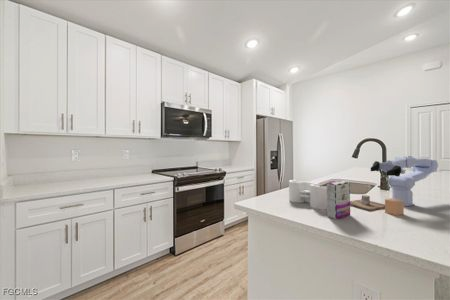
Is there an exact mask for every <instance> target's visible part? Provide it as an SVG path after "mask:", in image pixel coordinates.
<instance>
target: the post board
mask: <svg viewBox="0 0 450 300" xmlns="http://www.w3.org/2000/svg"><path fill="white" fill-rule="evenodd" d="M370 198H371V197H370V195H366V194H364V195H363V194H362V195H361V199H355V200H350V207H353V208H356V209H361V210H362V211H363V210H364V211H367V212H372V211H377V210H382V209H385V203H381V202H376V201H372V200H370Z"/></svg>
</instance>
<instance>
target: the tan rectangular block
mask: <svg viewBox="0 0 450 300" xmlns="http://www.w3.org/2000/svg"><path fill="white" fill-rule="evenodd" d="M384 204H385V208H384V213H385V214H386V213H387V214H390V215H393V216H398V217H399V216H402V215H404V213H405V212H404V211H405V207H404V201H402V200H398V199H393V198H392V197H390V198H385V199H384Z"/></svg>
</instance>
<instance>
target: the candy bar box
mask: <svg viewBox="0 0 450 300" xmlns="http://www.w3.org/2000/svg"><path fill="white" fill-rule="evenodd" d="M350 185H351V182H350V181H346V180H337V181H331V182H326V187H327V209H326V216H327V217H328V218H330V219H334V220H339V219H343V218H346V217H349V216H351V206H350V201H351V191H350V190H351V187H350Z"/></svg>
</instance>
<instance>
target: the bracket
mask: <svg viewBox="0 0 450 300" xmlns="http://www.w3.org/2000/svg"><path fill="white" fill-rule="evenodd" d="M320 184H321V183H319V182H317V183H316V182H311V181H305V180H303V181H298V180H297V179H289V180H288V201H290V202H292V203H304V202H305V203H309V204H310V208H313V209H318V210H327V186H320Z"/></svg>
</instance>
